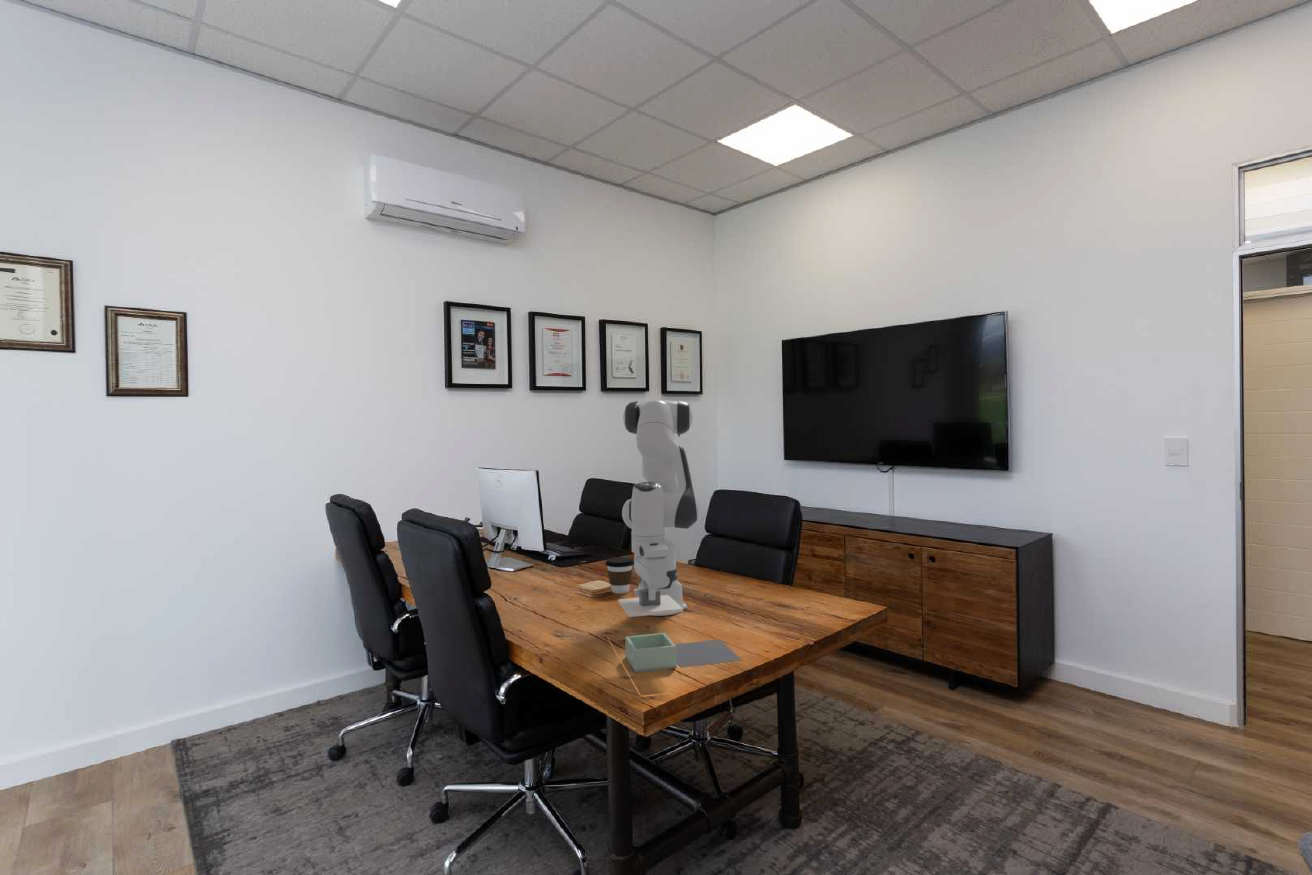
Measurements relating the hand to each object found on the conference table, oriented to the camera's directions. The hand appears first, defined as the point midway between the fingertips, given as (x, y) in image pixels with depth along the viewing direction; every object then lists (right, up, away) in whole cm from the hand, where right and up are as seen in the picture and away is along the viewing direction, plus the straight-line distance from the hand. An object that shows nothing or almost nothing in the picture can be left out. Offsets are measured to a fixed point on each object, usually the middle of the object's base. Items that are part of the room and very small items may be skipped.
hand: (649, 597), depth 170 cm
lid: (0, -3, 0) cm, 2 cm away
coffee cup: (-12, -16, +74) cm, 76 cm away
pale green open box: (0, -18, 0) cm, 18 cm away
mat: (+14, -17, +7) cm, 23 cm away
